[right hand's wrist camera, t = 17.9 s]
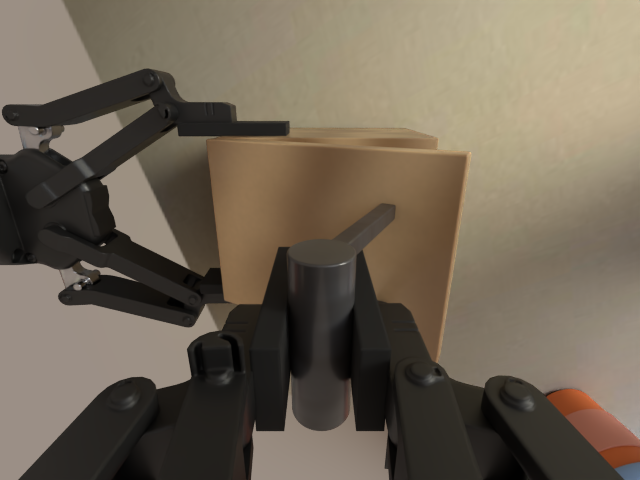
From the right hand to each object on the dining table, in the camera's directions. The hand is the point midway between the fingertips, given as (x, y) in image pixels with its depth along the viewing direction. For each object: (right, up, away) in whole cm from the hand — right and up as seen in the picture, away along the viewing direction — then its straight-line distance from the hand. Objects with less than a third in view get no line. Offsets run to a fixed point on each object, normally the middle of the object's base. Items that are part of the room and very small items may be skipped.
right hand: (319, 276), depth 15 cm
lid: (0, +2, +4) cm, 4 cm away
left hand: (-2, +4, +9) cm, 10 cm away
